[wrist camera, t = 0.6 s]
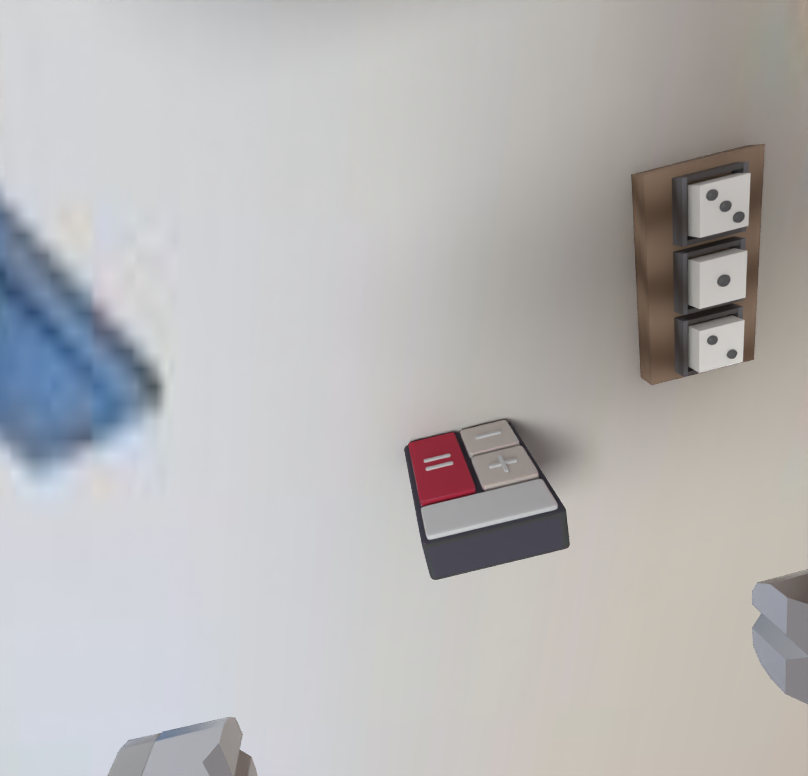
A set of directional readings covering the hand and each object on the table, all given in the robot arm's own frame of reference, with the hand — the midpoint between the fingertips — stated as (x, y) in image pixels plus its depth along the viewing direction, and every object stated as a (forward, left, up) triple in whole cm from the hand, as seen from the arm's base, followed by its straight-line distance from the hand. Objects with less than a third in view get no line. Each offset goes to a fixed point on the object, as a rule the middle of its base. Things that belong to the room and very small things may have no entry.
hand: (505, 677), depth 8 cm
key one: (+7, +27, -36) cm, 46 cm away
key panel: (+7, +27, -39) cm, 49 cm away
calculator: (+19, +3, -40) cm, 44 cm away
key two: (+13, +27, -36) cm, 47 cm away
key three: (+1, +27, -36) cm, 45 cm away
